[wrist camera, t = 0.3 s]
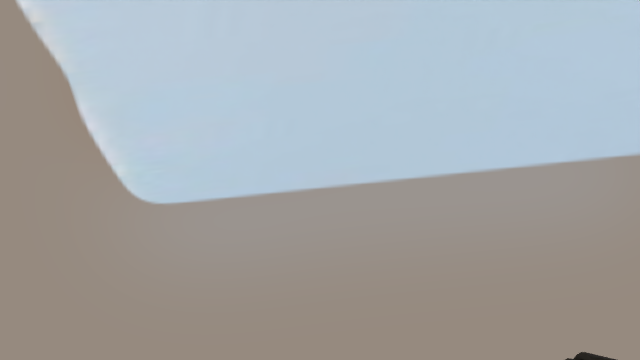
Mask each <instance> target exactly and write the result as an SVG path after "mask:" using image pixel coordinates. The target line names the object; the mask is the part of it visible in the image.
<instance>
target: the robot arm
mask: <svg viewBox="0 0 640 360" xmlns="http://www.w3.org/2000/svg"><path fill="white" fill-rule="evenodd" d="M566 360H616V359H611V358H607V357H603V356H598V355H594V354H590V353H586V352H581V353H579V354H577V355H576V357H575V358H574V359H569V358H567V359H566Z"/></svg>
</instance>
